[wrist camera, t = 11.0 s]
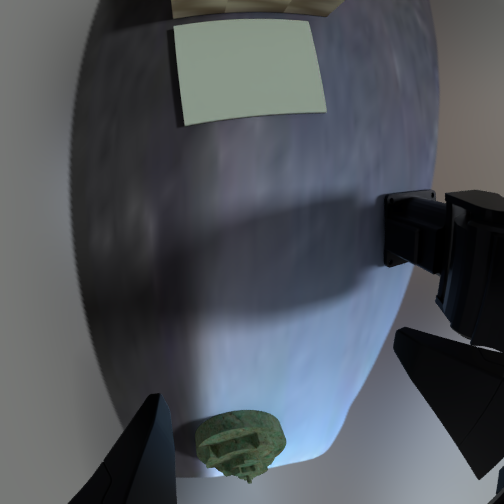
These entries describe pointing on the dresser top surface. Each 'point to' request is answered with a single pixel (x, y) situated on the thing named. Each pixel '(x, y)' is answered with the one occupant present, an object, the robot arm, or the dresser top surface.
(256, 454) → the decorative artifact
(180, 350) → the dresser top surface
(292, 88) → the mat
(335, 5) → the hole block
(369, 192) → the dresser top surface
